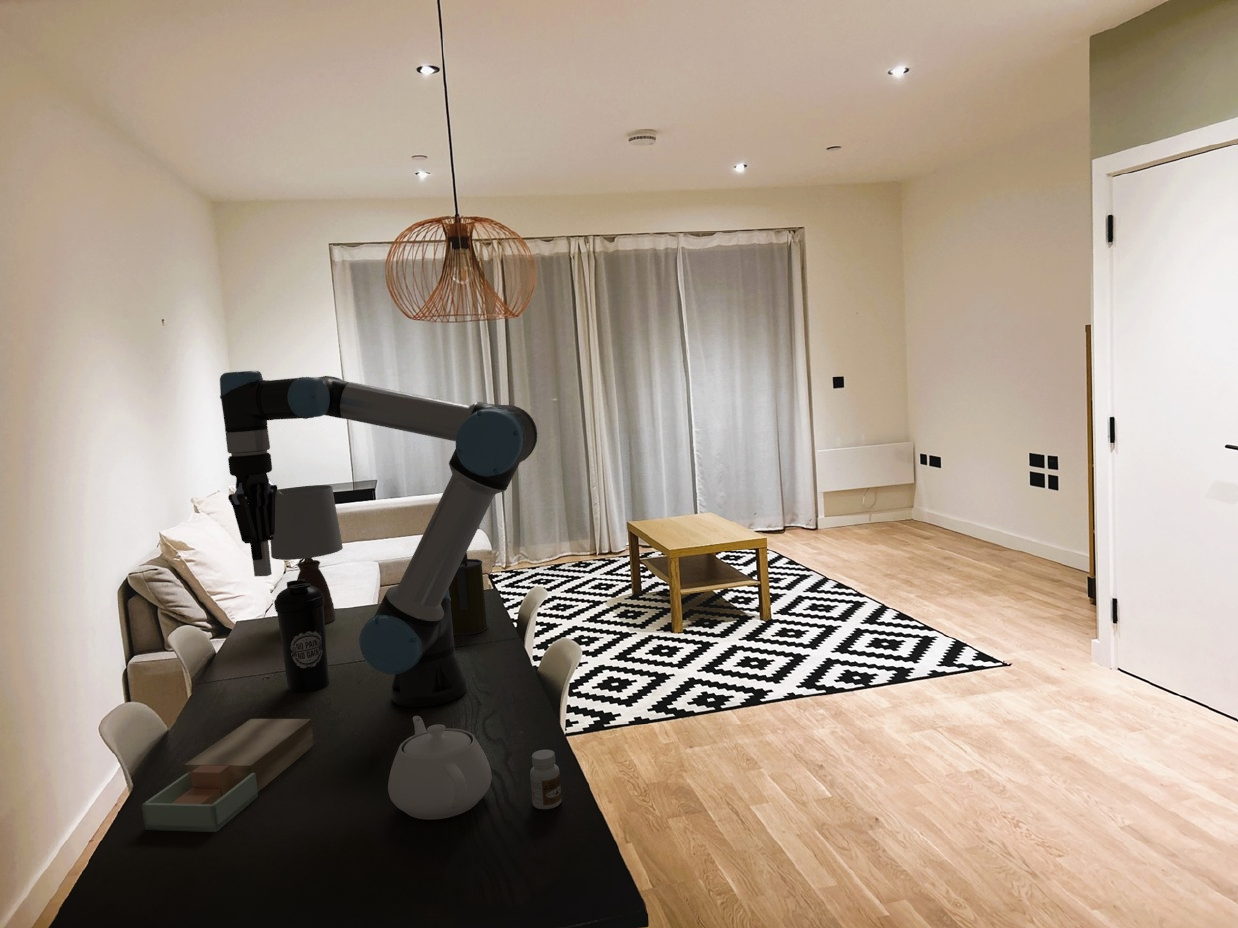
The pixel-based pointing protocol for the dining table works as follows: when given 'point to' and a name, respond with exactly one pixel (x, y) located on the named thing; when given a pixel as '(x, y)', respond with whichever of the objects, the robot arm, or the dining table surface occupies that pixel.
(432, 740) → the teapot
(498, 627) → the dining table surface
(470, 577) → the canister
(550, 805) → the pill bottle
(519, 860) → the dining table surface
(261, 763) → the long beige platform
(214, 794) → the tile
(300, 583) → the water bottle
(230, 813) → the tray
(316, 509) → the lamp
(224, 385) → the robot arm
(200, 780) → the tile
